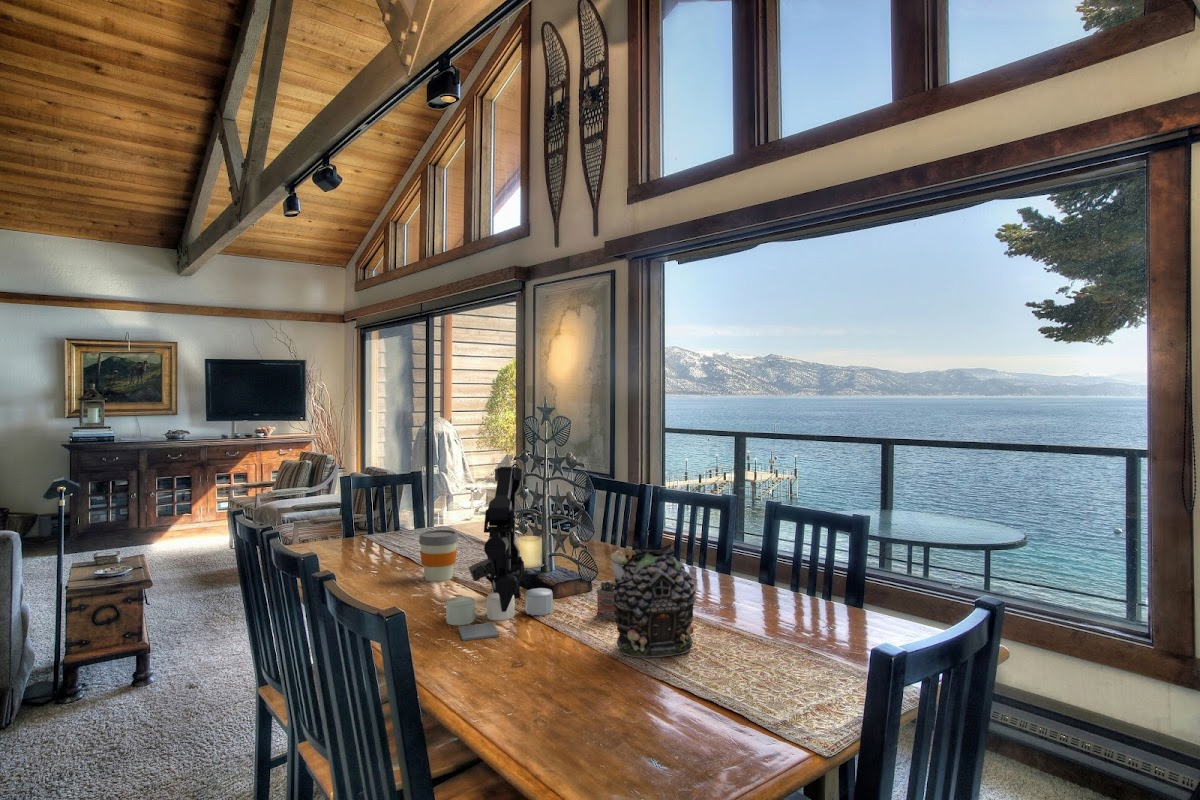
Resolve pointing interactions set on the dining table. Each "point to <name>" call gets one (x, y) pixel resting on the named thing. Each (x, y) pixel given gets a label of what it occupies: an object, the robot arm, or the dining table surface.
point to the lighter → (605, 600)
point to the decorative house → (652, 603)
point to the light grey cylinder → (539, 601)
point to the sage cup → (460, 610)
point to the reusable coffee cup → (438, 554)
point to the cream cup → (499, 608)
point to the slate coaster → (478, 631)
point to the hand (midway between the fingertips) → (500, 606)
